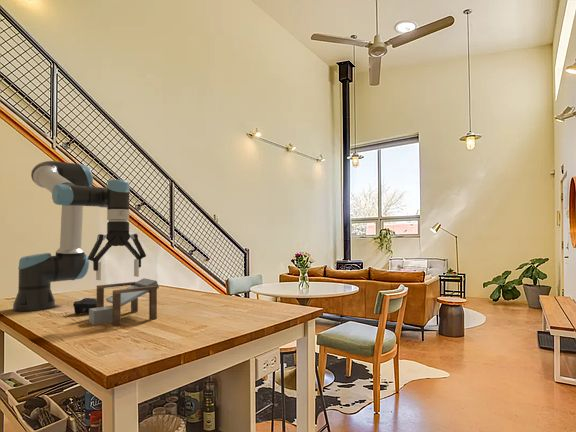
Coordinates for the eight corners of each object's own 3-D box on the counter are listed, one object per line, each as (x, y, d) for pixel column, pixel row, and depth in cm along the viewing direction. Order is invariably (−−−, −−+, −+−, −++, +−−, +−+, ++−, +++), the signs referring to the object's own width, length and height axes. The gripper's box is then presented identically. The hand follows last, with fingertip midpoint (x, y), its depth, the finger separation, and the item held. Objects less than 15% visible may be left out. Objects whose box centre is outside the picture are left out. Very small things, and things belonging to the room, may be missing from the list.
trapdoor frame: (96, 317, 143) (96, 285, 144) (135, 311, 154) (135, 281, 154) (114, 326, 129) (114, 291, 129) (156, 318, 139) (156, 286, 139)
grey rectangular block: (112, 318, 141) (88, 322, 135) (112, 305, 141) (89, 308, 136) (117, 321, 136) (94, 325, 131) (117, 307, 137) (94, 311, 131)
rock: (82, 310, 158) (82, 296, 158) (105, 309, 159) (105, 295, 159) (72, 315, 147) (72, 301, 148) (96, 314, 149) (96, 300, 149)
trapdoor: (107, 303, 144) (104, 296, 143) (144, 284, 154) (142, 277, 153) (122, 309, 133) (118, 301, 132) (161, 288, 143) (158, 281, 142)
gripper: (84, 220, 129) (84, 282, 128) (154, 221, 146) (154, 275, 146) (78, 221, 135) (78, 280, 134) (147, 221, 152) (146, 274, 151)
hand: (118, 278), depth 140 cm, fingers open, 13 cm apart
